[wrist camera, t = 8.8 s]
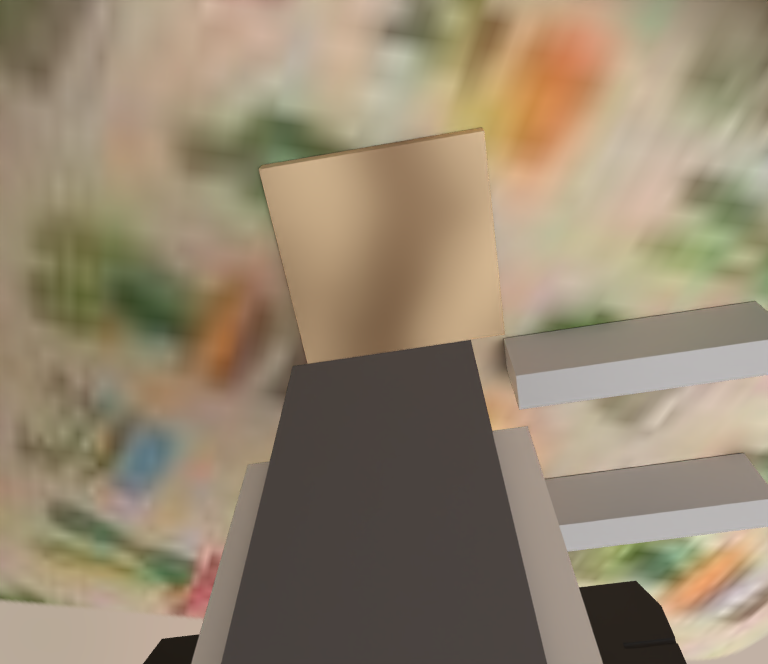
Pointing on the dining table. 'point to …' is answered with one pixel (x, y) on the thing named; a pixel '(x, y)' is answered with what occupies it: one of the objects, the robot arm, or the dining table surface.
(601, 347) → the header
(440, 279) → the pad
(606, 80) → the dining table surface
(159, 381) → the dining table surface
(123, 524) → the dining table surface
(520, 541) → the robot arm
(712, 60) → the dining table surface
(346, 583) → the dark grey rectangular block
